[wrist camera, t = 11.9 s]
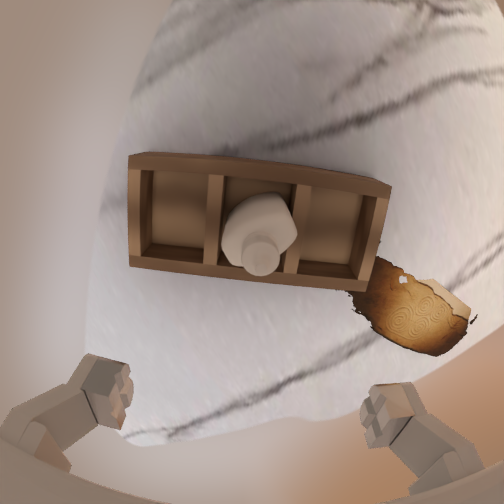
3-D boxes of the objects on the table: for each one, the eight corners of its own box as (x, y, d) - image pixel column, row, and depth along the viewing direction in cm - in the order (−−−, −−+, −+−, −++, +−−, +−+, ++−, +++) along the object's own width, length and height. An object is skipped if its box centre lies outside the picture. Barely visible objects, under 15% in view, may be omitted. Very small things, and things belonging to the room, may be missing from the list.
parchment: (478, 315, 35) (481, 318, 34) (439, 363, 38) (441, 367, 37) (370, 231, 31) (373, 233, 30) (320, 301, 34) (322, 305, 33)
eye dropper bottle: (284, 235, 29) (304, 302, 18) (227, 233, 29) (213, 299, 18) (288, 191, 28) (313, 236, 17) (228, 189, 28) (212, 232, 17)
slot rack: (146, 151, 27) (128, 155, 23) (373, 178, 28) (391, 186, 24) (144, 249, 31) (129, 266, 27) (353, 271, 32) (365, 291, 28)
